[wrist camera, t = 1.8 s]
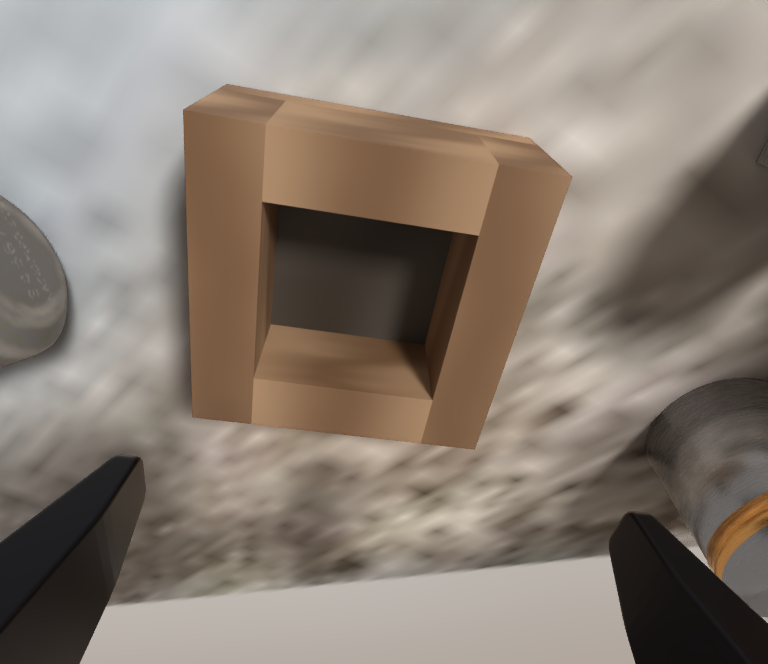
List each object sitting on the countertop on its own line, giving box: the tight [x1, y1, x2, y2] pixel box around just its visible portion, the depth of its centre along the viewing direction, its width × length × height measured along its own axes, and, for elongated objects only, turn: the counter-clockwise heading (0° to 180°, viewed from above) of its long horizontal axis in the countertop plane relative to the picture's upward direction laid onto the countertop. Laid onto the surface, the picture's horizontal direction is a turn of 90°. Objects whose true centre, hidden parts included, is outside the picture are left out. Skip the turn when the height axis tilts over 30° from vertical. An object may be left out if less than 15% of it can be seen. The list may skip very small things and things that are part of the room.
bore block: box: [183, 84, 572, 450], centre depth 18 cm, size 10×10×4 cm
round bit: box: [645, 378, 768, 617], centre depth 22 cm, size 7×7×7 cm
